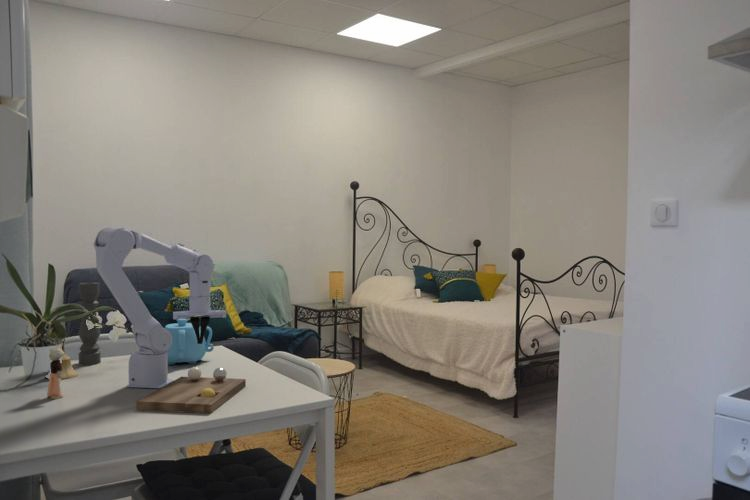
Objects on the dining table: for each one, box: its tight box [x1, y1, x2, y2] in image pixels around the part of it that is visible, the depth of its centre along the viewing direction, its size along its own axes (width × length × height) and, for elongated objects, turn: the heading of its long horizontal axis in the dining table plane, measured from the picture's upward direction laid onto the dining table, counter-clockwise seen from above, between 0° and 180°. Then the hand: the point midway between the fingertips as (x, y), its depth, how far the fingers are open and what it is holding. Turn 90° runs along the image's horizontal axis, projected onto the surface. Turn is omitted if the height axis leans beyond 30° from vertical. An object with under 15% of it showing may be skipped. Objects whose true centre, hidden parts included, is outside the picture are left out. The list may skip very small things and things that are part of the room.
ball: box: [200, 388, 215, 397], centre depth 145 cm, size 4×4×4 cm
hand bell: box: [61, 326, 79, 381], centre depth 170 cm, size 8×8×16 cm
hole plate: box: [136, 376, 247, 414], centre depth 150 cm, size 18×24×2 cm
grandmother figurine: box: [46, 346, 64, 400], centre depth 149 cm, size 8×4×13 cm, turn 49°
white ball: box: [187, 366, 202, 380], centre depth 159 cm, size 4×4×4 cm
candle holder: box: [78, 282, 102, 366], centre depth 187 cm, size 6×6×25 cm
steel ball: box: [212, 367, 228, 381], centre depth 158 cm, size 4×4×4 cm
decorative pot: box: [163, 319, 215, 366], centre depth 191 cm, size 16×16×14 cm
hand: (199, 343), depth 172 cm, fingers closed
